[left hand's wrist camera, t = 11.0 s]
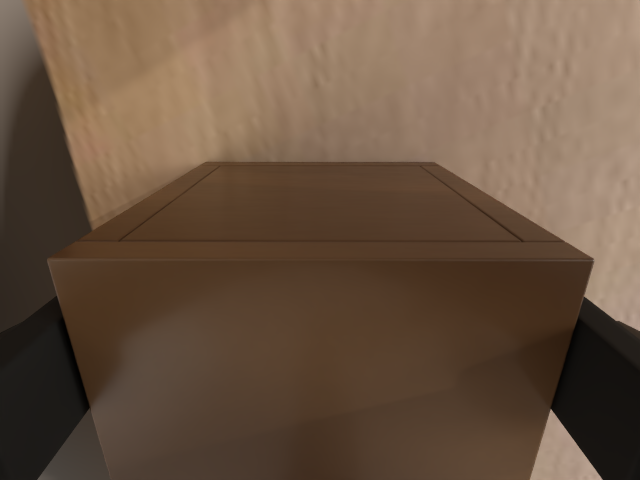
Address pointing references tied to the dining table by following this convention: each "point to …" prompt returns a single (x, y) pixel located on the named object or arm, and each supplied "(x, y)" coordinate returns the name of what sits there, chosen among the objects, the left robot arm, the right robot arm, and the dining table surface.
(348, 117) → the dining table surface
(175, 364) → the cabinet
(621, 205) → the dining table surface
